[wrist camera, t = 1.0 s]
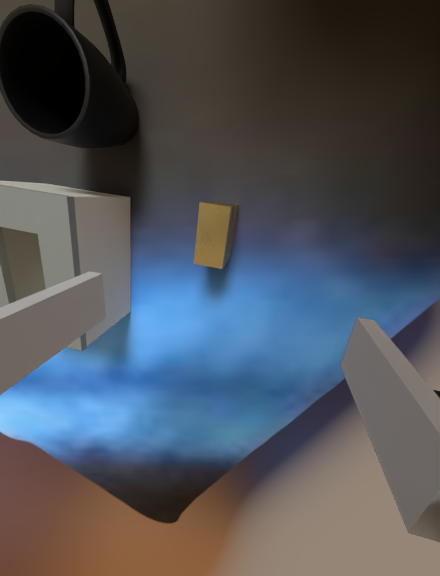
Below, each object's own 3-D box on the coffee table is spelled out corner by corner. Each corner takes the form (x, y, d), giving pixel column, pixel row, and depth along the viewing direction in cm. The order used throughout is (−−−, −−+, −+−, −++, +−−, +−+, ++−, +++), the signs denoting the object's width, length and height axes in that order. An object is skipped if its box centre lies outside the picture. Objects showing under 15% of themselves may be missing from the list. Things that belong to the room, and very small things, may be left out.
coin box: (45, 183, 31) (-49, 177, 22) (130, 197, 30) (66, 196, 20) (59, 295, 37) (-11, 327, 28) (130, 311, 36) (81, 350, 26)
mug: (177, 55, 24) (123, -28, 15) (134, 172, 28) (73, 160, 20) (106, 9, 24) (9, -103, 15) (74, 134, 28) (-13, 105, 20)
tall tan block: (213, 201, 28) (199, 202, 22) (239, 205, 27) (231, 206, 22) (207, 251, 30) (193, 263, 25) (231, 255, 30) (222, 269, 24)
